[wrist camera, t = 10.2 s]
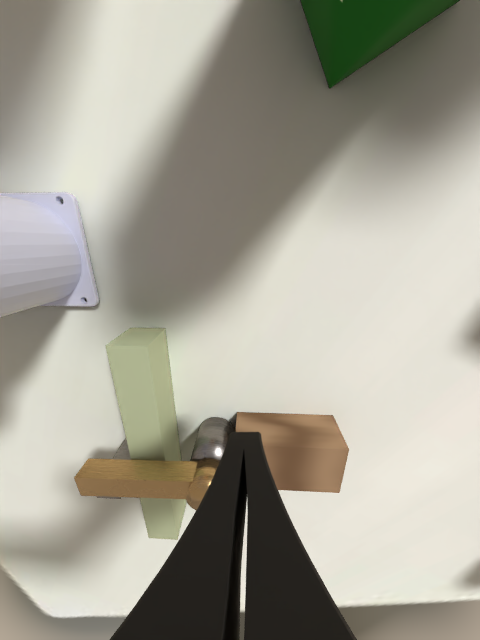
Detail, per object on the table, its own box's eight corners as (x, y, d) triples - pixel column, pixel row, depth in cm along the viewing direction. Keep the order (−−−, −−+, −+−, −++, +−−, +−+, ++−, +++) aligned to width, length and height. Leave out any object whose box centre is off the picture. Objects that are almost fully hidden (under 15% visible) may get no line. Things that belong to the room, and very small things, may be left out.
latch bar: (226, 458, 18) (223, 487, 16) (227, 483, 19) (224, 513, 17) (87, 455, 18) (66, 482, 16) (95, 478, 19) (76, 507, 17)
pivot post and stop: (128, 445, 23) (97, 497, 19) (121, 413, 22) (85, 461, 17) (235, 450, 23) (231, 504, 18) (235, 417, 21) (230, 467, 17)
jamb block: (237, 451, 23) (234, 487, 19) (237, 412, 21) (234, 444, 18) (326, 454, 22) (339, 492, 19) (332, 415, 21) (349, 449, 17)
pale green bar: (161, 501, 26) (148, 537, 23) (130, 327, 19) (105, 345, 15) (186, 502, 26) (177, 539, 23) (165, 328, 19) (147, 346, 15)
